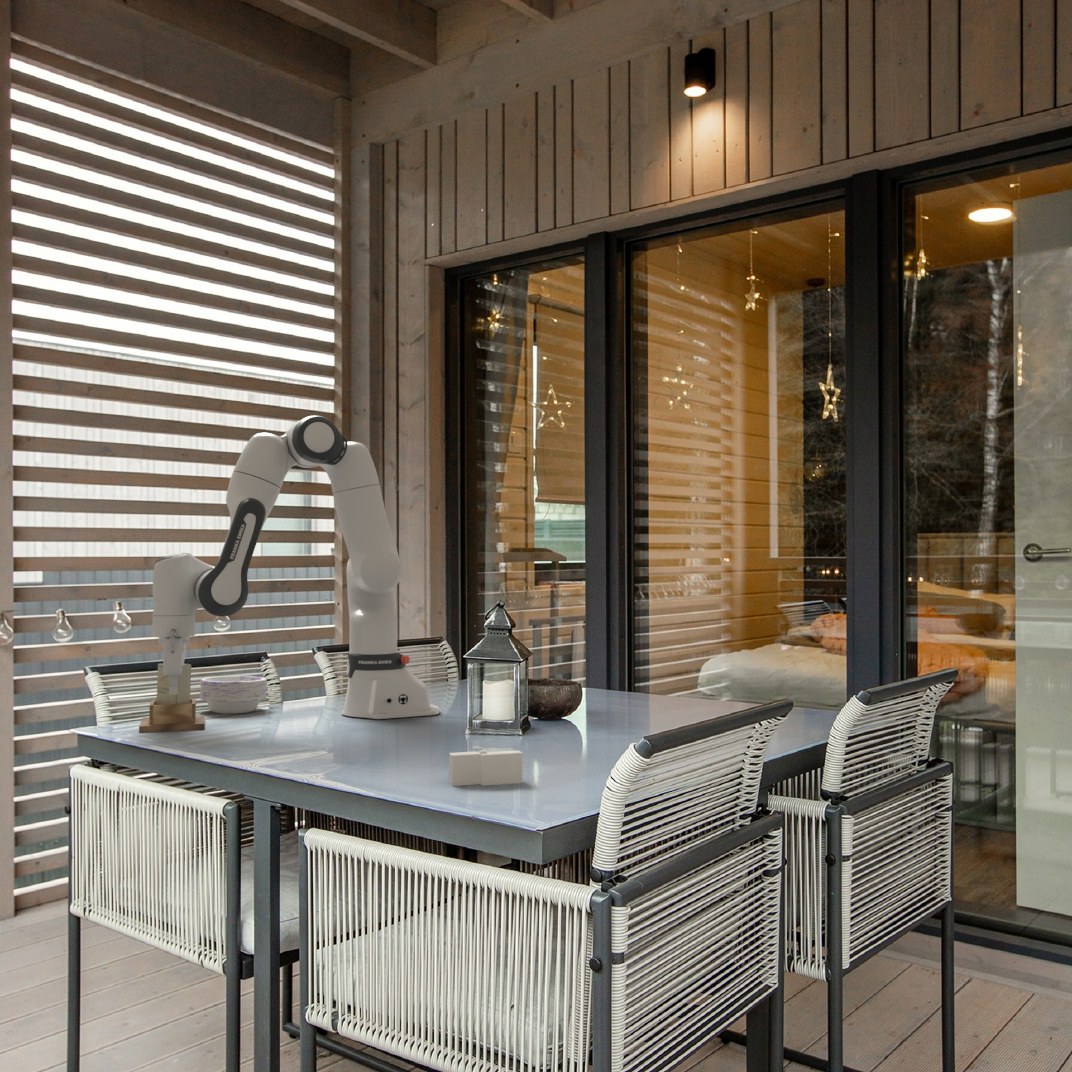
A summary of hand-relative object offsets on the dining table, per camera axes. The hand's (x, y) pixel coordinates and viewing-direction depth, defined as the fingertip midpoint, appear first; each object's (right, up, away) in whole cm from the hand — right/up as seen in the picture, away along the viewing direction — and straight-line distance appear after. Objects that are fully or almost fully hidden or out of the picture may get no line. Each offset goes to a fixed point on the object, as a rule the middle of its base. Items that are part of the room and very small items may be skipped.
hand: (174, 692), depth 229 cm
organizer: (0, -7, 0) cm, 7 cm away
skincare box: (0, -6, 0) cm, 6 cm away
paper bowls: (+7, -8, +22) cm, 24 cm away
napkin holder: (+70, -7, -57) cm, 90 cm away
